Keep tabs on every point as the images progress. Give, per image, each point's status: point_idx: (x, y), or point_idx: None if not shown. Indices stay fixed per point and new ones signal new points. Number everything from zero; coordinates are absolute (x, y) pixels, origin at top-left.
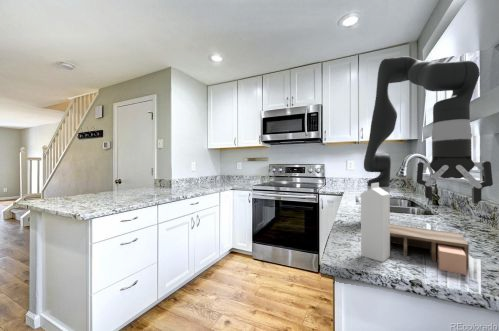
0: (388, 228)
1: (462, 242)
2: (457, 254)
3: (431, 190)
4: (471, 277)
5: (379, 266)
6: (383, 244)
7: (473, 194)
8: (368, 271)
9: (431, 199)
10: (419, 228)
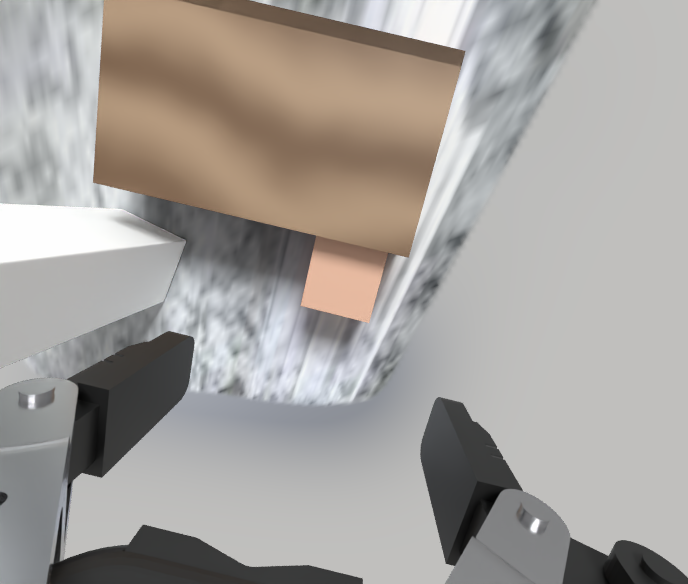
0: (105, 267)
1: (399, 232)
2: (347, 316)
3: (125, 447)
4: (373, 318)
5: (155, 336)
6: (127, 312)
7: (436, 497)
8: None
9: (177, 397)
10: (290, 20)
